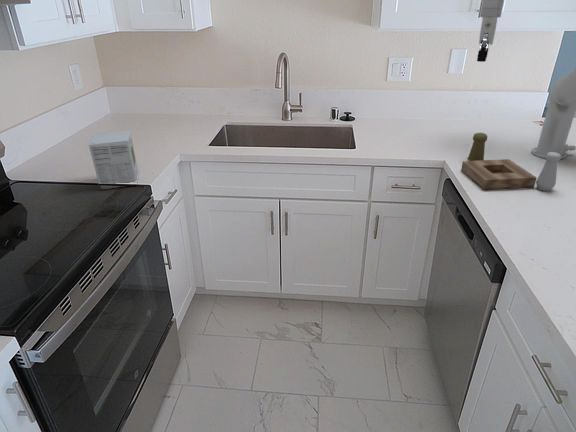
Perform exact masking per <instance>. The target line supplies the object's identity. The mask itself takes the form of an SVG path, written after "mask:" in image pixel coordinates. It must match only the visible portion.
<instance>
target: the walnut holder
mask: <svg viewBox="0 0 576 432" xmlns="http://www.w3.org/2000/svg"><path fill="white" fill-rule="evenodd" d="M460 172H461V173H463V174H464V175H465V176H466V177H467V178H468V179H469V180H470V181H472V182H473V183H474V184H475V185H476V186H478V187H479V188H480V189H481V190H482V191H484V192H485V191H486V192H487V191H500V190H499V189H507V190H519V189H518V188H527V189H534V188H535V185H536V181H537V179H538V177H536V176H535V175H534V174H532V173H530V171H528V170H526V169H525V168H523V167H522V166H520V165H518V164H517V163H515V161H513V160H511V159H510V158H504V159H486V160H485V159H484V160H479V161H469V160H463V161H462V164H461V169H460Z"/></svg>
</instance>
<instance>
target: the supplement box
mask: <svg viewBox="0 0 576 432" xmlns="http://www.w3.org/2000/svg"><path fill="white" fill-rule="evenodd" d="M88 147H89V151H90V155H91V159H92V162H93V167H94V171H95V174H96V179H97V182H98V185H99V184H116V183H130V182H135V181H136V180H137V175H138V172H139V168H138V163H137V159H136V154H135V153H136V152H135V149H134V144H133V138H132V134H131V131H130V130H124V131H113V132H102V133H94V134H93V136H92V138H91V140H90V142H89V144H88Z"/></svg>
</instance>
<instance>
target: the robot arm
mask: <svg viewBox="0 0 576 432" xmlns="http://www.w3.org/2000/svg"><path fill="white" fill-rule="evenodd" d="M504 2H505V0H482V3H481V6H480V8H481V9H480V13H479V18H482V20H481V25H480V32H479V42H478V44H479V50H478V54H477V59H476V62H480V63H481V62H482V63H484V62H486V61H487V58H488V53H489V45H490V46H492V45H493V44H494V40H495V34H496V28H497V23H498V18H499V19H500V18H501V17H502V13H503V7H504ZM575 115H576V67H575V68H574V69H573V70H572V71H571V72H570V73H569V74H567V75H566V74H565V75H563V76H561V77H559V78H558V79H557V80H556V81H555V83H554V84H553V86H552V89H551V93H550V97H549V102H548V105H547V110H546V114H545V117H544V120H543V124H542V128H541V130H540V135H539V139H538V143H537V146H536V147H534V148H532V149H531V154H532V155H533V156H536V157H539V158H541V159H546V155H547V153H549V152H556V153H559V154H560V155H561V159H560V160H563V159H566V157H567V156H568V154H567V152H568V151H576V145H569V144H566V143H567V141H568V137H569V133H570V130H571V127H572V124H573V121H574V117H575Z"/></svg>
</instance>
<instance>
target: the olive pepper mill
mask: <svg viewBox="0 0 576 432" xmlns="http://www.w3.org/2000/svg"><path fill="white" fill-rule="evenodd" d="M472 139H473V143H472V145H471V149H470V150H469V154H468V157H467V161H479V160H485V146H486V144H485V143H486V142H487V140H488V135H487V134H486V133H483V132H475V133H474V134H473V136H472Z"/></svg>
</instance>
